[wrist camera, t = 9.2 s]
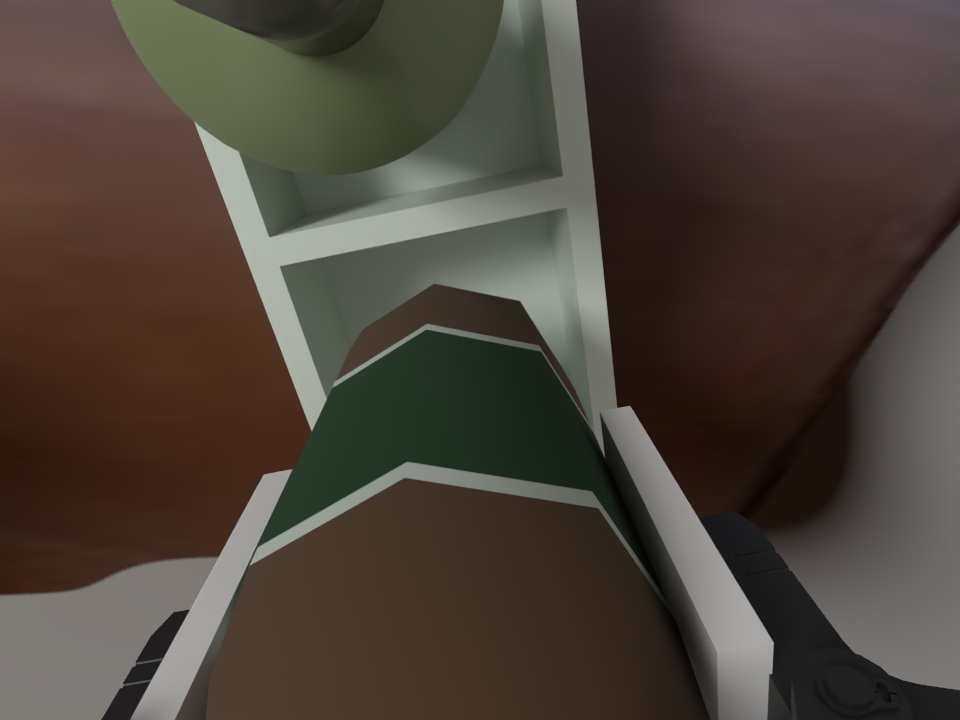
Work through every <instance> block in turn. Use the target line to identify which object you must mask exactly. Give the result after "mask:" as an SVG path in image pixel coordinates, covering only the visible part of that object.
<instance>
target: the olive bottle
mask: <svg viewBox="0 0 960 720" xmlns="http://www.w3.org/2000/svg"><path fill="white" fill-rule="evenodd" d="M111 2H112V5H113V8H114V10H115V12H116V14H117V16H118V18H119V21H120V23H121V25H122V27H123V29H124V31H125V33H126V36H127V37H128V39H129V41H130V42H131V44H132V46H133V48H134V49H135V51H136V53H137V54H138V56H139V58H140V59H141V61H142V63H143V64H144V65H145V67H146V68H147V70H148V71H149V72H150V74H151V75H152V76H153V78H154V79H155V80H156V82H157V83H158V84H159V86H160V87H161V88H162V89H163V90H164V92H165V93H166V94H167V95H168V96H169V97H170V98H171V99H172V100H173V101H174V103H175V104H176V105H177V106H178V107H179V108H180V109H181V110H182V111H183V112H184V113H185V114H187V115H188V116H189V117H190V118H191V119H192V120H193V121H194V122H196V123H197V124H198V125H199V126H200V127H201V128H202V129H204V130H205V131H207V132H208V133H210V134H211V135H212V136H214V137H215V138H217V139H218V140H219V141H221V142H222V143H224V144H225V145H227V146H229V147H231V148H233V149H234V150H236V151H238V152H240V153H242V154H244V155H245V156H247V157H250V158H252V159H255V160H257V161H260V162H262V163H265V164H267V165H270V166H273V167H277V168H281V169H284V170H288V171H292V172H298V173H305V174H313V175H344V174H351V173H358V172H364V171H367V170H371V169H374V168H378V167H381V166H385V165H387V164H389V163H391V162H393V161H396V160H398V159H400V158H402V157H405V156H406V155H408V154H410V153H411V152H413V151H414V150H416V149H417V148H419V147H421V146H422V145H424V144H425V143H426V142H428V141H429V140H430V139H432V138H433V137H434V136H435V135H437V134H438V133H439V132H440V131H442V130H443V129H444V128H445V127H446V126H447V125H449V124H450V123H451V121H452V120H453V119H454V118H455V117H456V116H457V114H458V113H459V111H460V110H461V108H462V107H463V105H464V104H465V102H466V101H467V99H468V98H469V96H470V94H471V93H472V91H473V90H474V88H475V86H476V84H477V82H478V80H479V78H480V76H481V74H482V72H483V70H484V69H485V67H486V64H487V62H488V59H489V56H490V54H491V51H492V48H493V45H494V43H495V40H496V36H497V32H498V28H499V24H500V20H501V16H502V12H503V4H504V0H111Z"/></svg>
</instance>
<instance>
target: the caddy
mask: <svg viewBox="0 0 960 720" xmlns="http://www.w3.org/2000/svg"><path fill="white" fill-rule="evenodd" d="M195 125H196V127H197V130H198V133H199V135H200V138H201V140H202V143H203V146H204V148H205V151H206V154H207V156H208V159H209V162H210V164H211V167H212V169H213V172H214V175H215V177H216V180H217V183H218V185H219V188H220V191H221V193H222V196H223V199H224V201H225V204H226V206H227V209H228V212H229V214H230V217H231V220H232V222H233V225H234V228H235V230H236V233H237V235H238V238H239V241H240V243H241V246H242V249H243V251H244V254H245V257H246V259H247V262H248V265H249V267H250V270H251V272H252V275H253V278H254V280H255V283H256V286H257V288H258V291H259V294H260V296H261V299H262V301H263V304H264V307H265V309H266V312H267V315H268V317H269V320H270V323H271V325H272V328H273V331H274V333H275V336H276V338H277V341H278V344H279V346H280V349H281V352H282V354H283V357H284V360H285V362H286V365H287V367H288V370H289V373H290V375H291V378H292V381H293V383H294V386H295V389H296V391H297V394H298V397H299V399H300V402H301V404H302V407H303V410H304V412H305V415H306V418H307V420H308V423H309V426H310V428H311V431H312V430H313V428H314V426H315V424H316V421H317V419H318V417H319V415H320V413H321V411H322V409H323V406H324V404H325V402H326V400H327V398H328V396H329V394H330V391H331V389H332V387H333V385H334V383H335V381H336V379H337V376H338V374H339V372H340V370H341V368H342V366H343V363H344V361H345V359H346V357H347V355H348V353H349V351H350V348H351V347H352V345H353V344H354V342H355V341H356V339H357V338H358V336H359V334H360V333H361V331H362V330H363V329H364V328H366V327H367V326H369V325H370V324H372V323H373V322H375V321H376V320H378V319H380V318H381V317H383V316H384V315H386V314H387V313H389V312H390V311H392V310H394V309H395V308H397V307H398V306H400V305H401V304H403V303H405V302H406V301H408V300H409V299H411V298H412V297H414V296H415V295H417V294H419V293H420V292H422V291H423V290H425V289H426V288H428V287H429V286H431V285H433V284H439V285H444V286H449V287H454V288H459V289H464V290H469V291H473V292H478V293H483V294H488V295H493V296H498V297H503V298H508V299H513V300H518V301H520V302H521V303H522V305H523V307H524V308H525V310H526V311H527V313H528V314H529V316H530V318H531V319H532V321H533V322H534V324H535V325H536V327H537V329H538V330H539V332H540V333H541V335H542V336H543V338H544V340H545V341H546V343H547V344H548V346H549V348H550V349H551V351H552V352H553V354H554V355H555V357H556V359H557V360H558V362H559V363H560V365H561V366H562V368H563V370H564V372H565V373H566V375H567V377H568V378H569V380H570V382H571V384H572V385H573V387H574V389H575V391H576V393H577V396H578V398H579V400H580V402H581V405H582V407H583V409H584V412H585V414H586V416H587V418H588V421H589V423H590V425H591V427H592V430H593V432H594V434H595V437H596V439H597V441H598V443H599V446H600V448H601V450H602V453H603V455H604V457H605V453H604V445H603V436H602V428H601V419H600V411H605V410H611V409H616V408H617V401H616V391H615V381H614V371H613V361H612V351H611V342H610V332H609V322H608V312H607V302H606V292H605V282H604V272H603V263H602V253H601V243H600V233H599V223H598V213H597V203H596V193H595V183H594V174H593V164H592V154H591V144H590V134H589V124H588V114H587V104H586V95H585V85H584V75H583V65H582V55H581V45H580V35H579V25H578V16H577V6H576V0H504V4H503V12H502V16H501V20H500V24H499V28H498V32H497V36H496V40H495V43H494V45H493V48H492V51H491V54H490V56H489V59H488V62H487V64H486V67H485V69H484V70H483V72H482V74H481V76H480V78H479V80H478V82H477V84H476V86H475V88H474V90H473V91H472V93H471V94H470V96H469V98H468V99H467V101H466V102H465V104H464V105H463V107H462V108H461V110H460V111H459V113H458V114H457V116H456V117H455V118H454V119H453V120H452V121H451V123H450V124H449V125H447V126H446V127H445V128H444V129H443V130H442V131H440V132H439V133H438V134H437V135H435V136H434V137H433V138H432V139H430V140H429V141H428V142H426V143H425V144H424V145H422V146H421V147H419V148H417V149H416V150H414V151H413V152H411V153H410V154H408V155H406V156H405V157H402V158H400V159H398V160H396V161H393V162H391V163H389V164H387V165H385V166H381V167H378V168H374V169H371V170H367V171H364V172H358V173H351V174H344V175H313V174H305V173H298V172H292V171H288V170H284V169H281V168H277V167H273V166H270V165H267V164H265V163H262V162H260V161H257V160H255V159H252V158H250V157H247V156H245V155H244V154H242V153H240V152H238V151H236V150H234V149H233V148H231V147H229V146H227V145H225V144H224V143H222V142H221V141H219V140H218V139H217V138H215V137H214V136H212V135H211V134H210V133H208V132H207V131H205V130H204V129H202V128H201V127H200V126H199V125H198V124H197V123H196V122H195Z"/></svg>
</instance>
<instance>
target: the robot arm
mask: <svg viewBox="0 0 960 720" xmlns="http://www.w3.org/2000/svg"><path fill="white" fill-rule="evenodd" d="M600 419H601V428H602V436H603V445H604V453H605V460H606V462H607V465H608V467H609V469H610V472H611V474H612V476H613V478H614V481H615V483H616V485H617V488H618V490H619V492H620V494H621V497H622V499H623V501H624V504H625V506H626V508H627V510H628V513H629V515H630V517H631V520H632V522H633V524H634V526H635V529H636V531H637V533H638V536H639V538H640V540H641V542H642V545H643V547H644V549H645V552H646V554H647V556H648V558H649V561H650V563H651V565H652V568H653V570H654V572H655V574H656V577H657V579H658V581H659V584H660V586H661V588H662V591H663V593H664V595H665V597H666V600H667V602H668V604H669V607H670V609H671V611H672V613H673V616H674V618H675V620H676V623H677V625H678V628H679V631H680V633H681V636H682V639H683V642H684V644H685V647H686V650H687V653H688V656H689V659H690V662H691V665H692V668H693V671H694V674H695V676H696V679H697V682H698V685H699V688H700V691H701V694H702V697H703V700H704V703H705V706H706V709H707V711H708V714H709V717H710V720H960V690H954V689H946V688H939V687H933V686H926V685H920V684H915V683H911V682H907V681H903V680H900V679H898V678H895V677H893V676H890V675H888V674H887V673H886V672H885V671H884V670H883V669H882V668H881V667H879V666H878V665H876V664H874V663H872V662H871V661H869V660H868V659H866V658H864V657H862V656H861V655H858V654H855V653H854V652H853V651H852V650H851V649H850V648H849V647H848V646H847V644H846V643H845V642H844V641H843V640H842V639H841V638H840V636H839V635H838V633H837V632H836V631H835V629H834V628H833V627H832V625H831V624H830V623H829V621H828V620H827V619H826V617H825V616H824V614H823V613H822V612H821V610H820V609H819V608H818V606H817V605H816V604H815V602H814V601H813V600H812V598H811V597H810V596H809V594H808V593H807V591H806V590H805V589H804V587H803V586H802V585H801V583H800V582H799V581H798V579H797V578H796V577H795V575H794V574H793V573H792V571H789V569H788V566H787V565H786V563H785V562H784V560H783V559H782V558H781V556H780V555H779V554H778V553H776V552H775V549H774V547H773V546H772V544H771V543H770V542H769V540H768V539H767V538H766V537H765V535H764V533H763V532H762V531H761V529H760V528H759V527H758V526H756V525H755V524H753V523H752V522H750V521H749V520H747V519H746V518H744V517H743V516H742V515H740V514H739V513H737V512H736V511H732V512H727V513H721V514H715V515H710V516H704V517H697V515H696V514H695V512H694V510H693V509H692V507H691V505H690V504H689V502H688V500H687V499H686V497H685V496H684V494H683V492H682V491H681V489H680V487H679V486H678V484H677V482H676V481H675V479H674V477H673V476H672V474H671V472H670V471H669V469H668V467H667V466H666V464H665V463H664V461H663V459H662V458H661V456H660V454H659V453H658V451H657V449H656V448H655V446H654V444H653V443H652V441H651V439H650V438H649V436H648V434H647V433H646V431H645V429H644V428H643V426H642V425H641V423H640V421H639V420H638V418H637V416H636V415H635V413H634V411H633V410H632V408H631V406H627V407H621V408H616V409H611V410H605V411H600ZM292 473H293V469H291V470H286V471H280V472H275V473H270V474H264V475H263V477H262V479H261V480H260V482H259V484H258V486H257V488H256V490H255V492H254V493H253V495H252V497H251V499H250V501H249V503H248V504H247V506H246V508H245V510H244V512H243V514H242V515H241V517H240V519H239V521H238V523H237V525H236V526H235V528H234V530H233V532H232V534H231V536H230V537H229V539H228V541H227V543H226V545H225V547H224V548H223V550H222V552H221V554H220V556H219V558H218V559H217V561H216V563H215V565H214V567H213V569H212V570H211V572H210V574H209V576H208V578H207V580H206V582H205V583H204V585H203V587H202V589H201V591H200V593H199V594H198V596H197V598H196V600H195V602H194V603H193V605H192V607H191V609H190V610H185V611H179V612H174V613H173V614H172V615H171V616H170V617H169V618H168V619H167V620H166V621H165V622H164V623H163V624H162V625H161V627H159V628H158V629H157V631H155V633H154V634H153V635H152V636H151V637H150V639H149V640H148V642H147V644H146V646H145V647H144V649H143V651H142V652H141V654H140V656H139V657H138V659H137V661H136V666H135V667H133V668H132V669H131V671H130V672H129V674H128V676H127V678H126V679H125V681H124V683H123V684H124V686H123V688H121V689H119V691H118V693H117V694H116V696H115V698H114V699H113V701H112V703H111V705H110V707H109V708H108V710H107V711H106V713H105V715H104V716H103V718H102V720H206V712H207V699H208V686H209V678H210V675H211V672H212V669H213V666H214V664H215V661H216V658H217V655H218V652H219V650H220V647H221V644H222V641H223V638H224V636H225V633H226V630H227V627H228V624H229V621H230V619H231V616H232V613H233V610H234V607H235V605H236V602H237V599H238V596H239V593H240V591H241V588H242V585H243V582H244V579H245V576H246V574H247V571H248V568H249V565H250V563H251V561H252V559H253V557H254V555H255V552H256V550H257V548H258V546H259V544H260V542H261V540H262V537H263V535H264V533H265V531H266V529H267V527H268V525H269V522H270V520H271V518H272V516H273V514H274V512H275V510H276V507H277V505H278V503H279V501H280V499H281V497H282V494H283V492H284V490H285V488H286V486H287V484H288V482H289V479H290V477H291V475H292Z"/></svg>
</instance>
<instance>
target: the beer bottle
mask: <svg viewBox="0 0 960 720" xmlns="http://www.w3.org/2000/svg"><path fill="white" fill-rule="evenodd" d="M206 720H710V717H709V714H708V711H707V709H706V706H705V703H704V700H703V697H702V694H701V691H700V688H699V685H698V682H697V679H696V676H695V674H694V671H693V668H692V665H691V662H690V659H689V656H688V653H687V650H686V647H685V644H684V642H683V639H682V636H681V633H680V631H679V628H678V625H677V623H676V620H675V618H674V616H673V613H672V611H671V609H670V607H669V604H668V602H667V600H666V597H665V595H664V593H663V591H662V588H661V586H660V584H659V581H658V579H657V577H656V574H655V572H654V570H653V568H652V565H651V563H650V561H649V558H648V556H647V554H646V552H645V549H644V547H643V545H642V542H641V540H640V538H639V536H638V533H637V531H636V529H635V526H634V524H633V522H632V520H631V517H630V515H629V513H628V510H627V508H626V506H625V504H624V501H623V499H622V497H621V494H620V492H619V490H618V488H617V485H616V483H615V481H614V478H613V476H612V474H611V472H610V469H609V467H608V465H607V462H606V460H605V457H604V455H603V453H602V450H601V448H600V446H599V443H598V441H597V439H596V437H595V434H594V432H593V430H592V427H591V425H590V423H589V421H588V418H587V416H586V414H585V412H584V409H583V407H582V405H581V402H580V400H579V398H578V396H577V393H576V391H575V389H574V387H573V385H572V384H571V382H570V380H569V378H568V377H567V375H566V373H565V372H564V370H563V368H562V366H561V365H560V363H559V362H558V360H557V359H556V357H555V355H554V354H553V352H552V351H551V349H550V348H549V346H548V344H547V343H546V341H545V340H544V338H543V336H542V335H541V333H540V332H539V330H538V329H537V327H536V325H535V324H534V322H533V321H532V319H531V318H530V316H529V314H528V313H527V311H526V310H525V308H524V307H523V305H522V303H521V302H520V301H518V300H513V299H508V298H503V297H498V296H493V295H488V294H483V293H478V292H473V291H469V290H464V289H459V288H454V287H449V286H444V285H439V284H433V285H431V286H429V287H428V288H426V289H425V290H423V291H422V292H420V293H419V294H417V295H415V296H414V297H412V298H411V299H409V300H408V301H406V302H405V303H403V304H401V305H400V306H398V307H397V308H395V309H394V310H392V311H390V312H389V313H387V314H386V315H384V316H383V317H381V318H380V319H378V320H376V321H375V322H373V323H372V324H370V325H369V326H367V327H366V328H364V329H363V330H362V331H361V333H360V334H359V336H358V338H357V339H356V341H355V342H354V344H353V345H352V347H351V348H350V351H349V353H348V355H347V357H346V359H345V361H344V363H343V366H342V368H341V370H340V372H339V374H338V376H337V379H336V381H335V383H334V385H333V387H332V389H331V391H330V394H329V396H328V398H327V400H326V402H325V404H324V406H323V409H322V411H321V413H320V415H319V417H318V419H317V421H316V424H315V426H314V428H313V430H312V432H311V434H310V437H309V439H308V441H307V443H306V445H305V447H304V449H303V452H302V454H301V456H300V458H299V460H298V462H297V464H296V467H295V469H294V471H293V473H292V475H291V477H290V479H289V482H288V484H287V486H286V488H285V490H284V492H283V494H282V497H281V499H280V501H279V503H278V505H277V507H276V510H275V512H274V514H273V516H272V518H271V520H270V522H269V525H268V527H267V529H266V531H265V533H264V535H263V537H262V540H261V542H260V544H259V546H258V548H257V550H256V552H255V555H254V557H253V559H252V561H251V563H250V565H249V568H248V571H247V574H246V576H245V579H244V582H243V585H242V588H241V591H240V593H239V596H238V599H237V602H236V605H235V607H234V610H233V613H232V616H231V619H230V621H229V624H228V627H227V630H226V633H225V636H224V638H223V641H222V644H221V647H220V650H219V652H218V655H217V658H216V661H215V664H214V666H213V669H212V672H211V675H210V678H209V686H208V699H207V712H206Z"/></svg>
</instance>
